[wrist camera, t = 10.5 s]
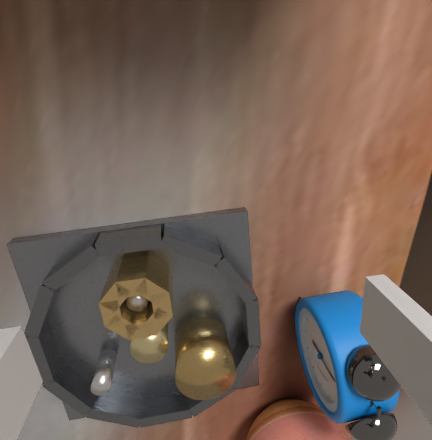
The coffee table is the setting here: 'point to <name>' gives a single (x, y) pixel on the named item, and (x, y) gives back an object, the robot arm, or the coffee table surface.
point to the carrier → (147, 346)
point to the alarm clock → (345, 366)
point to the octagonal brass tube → (135, 286)
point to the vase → (294, 423)
